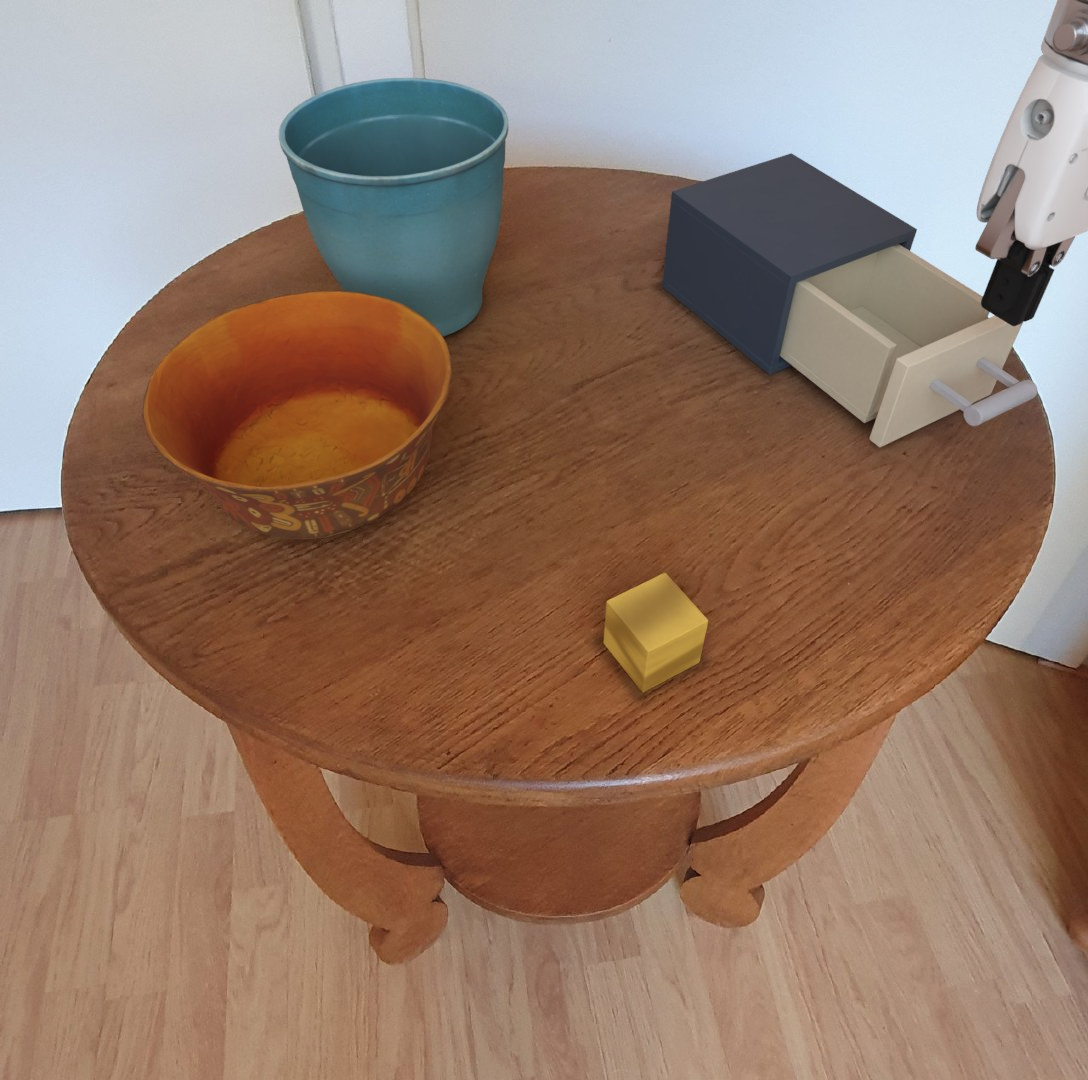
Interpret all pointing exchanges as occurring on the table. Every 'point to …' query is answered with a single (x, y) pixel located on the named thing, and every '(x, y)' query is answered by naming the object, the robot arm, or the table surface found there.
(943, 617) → the table surface
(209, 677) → the table surface
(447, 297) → the flower pot
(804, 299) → the drawer
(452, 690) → the table surface
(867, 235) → the cabinet
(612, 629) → the block
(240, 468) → the bowl
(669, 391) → the table surface
